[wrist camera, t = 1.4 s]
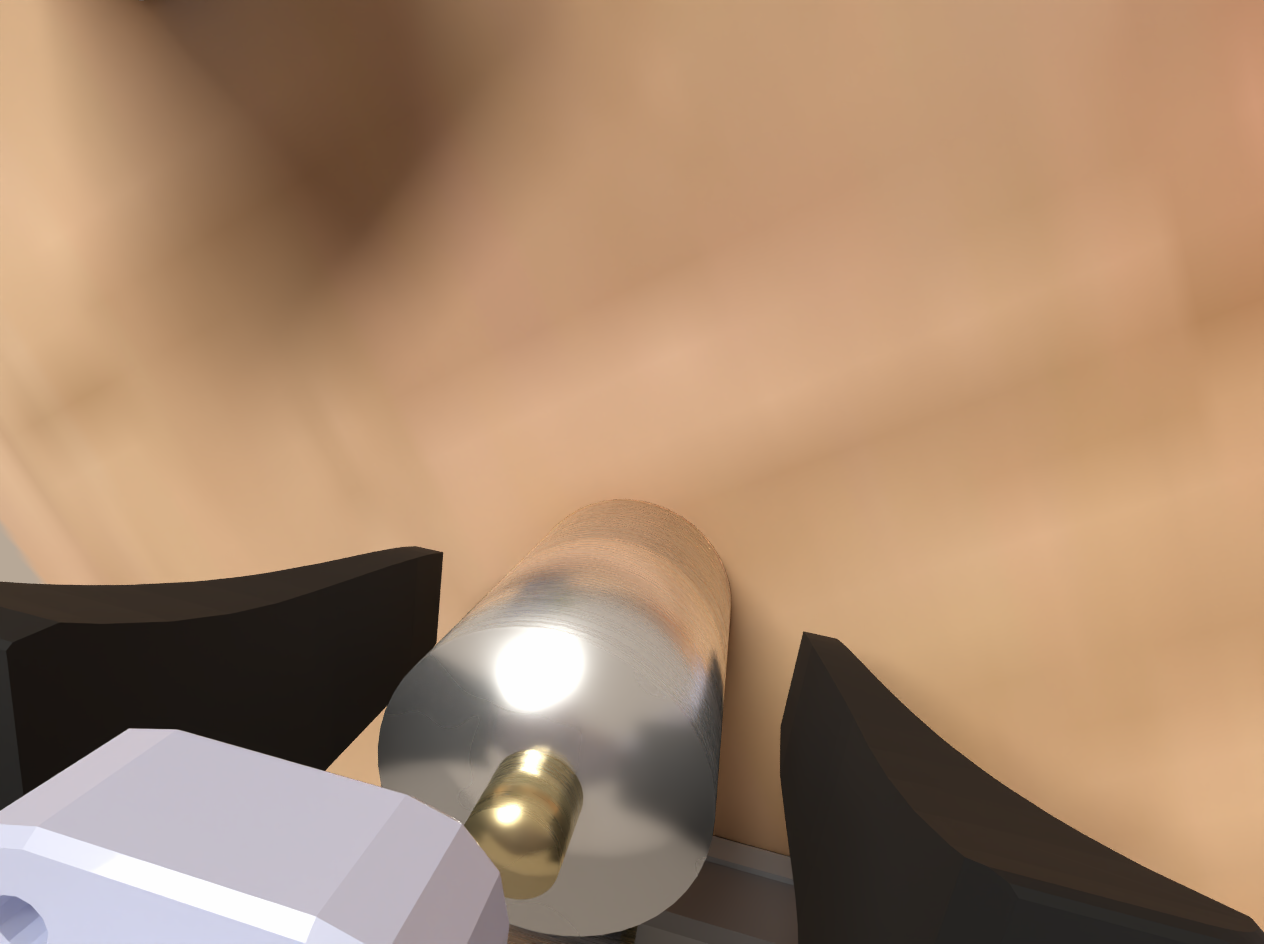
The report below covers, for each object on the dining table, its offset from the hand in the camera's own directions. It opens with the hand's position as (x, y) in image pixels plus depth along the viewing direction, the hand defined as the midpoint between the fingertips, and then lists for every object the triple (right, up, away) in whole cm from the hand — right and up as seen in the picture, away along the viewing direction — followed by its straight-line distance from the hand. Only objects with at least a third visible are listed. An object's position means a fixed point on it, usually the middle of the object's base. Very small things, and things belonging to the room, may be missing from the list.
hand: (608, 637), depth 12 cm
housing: (0, 0, +2) cm, 2 cm away
